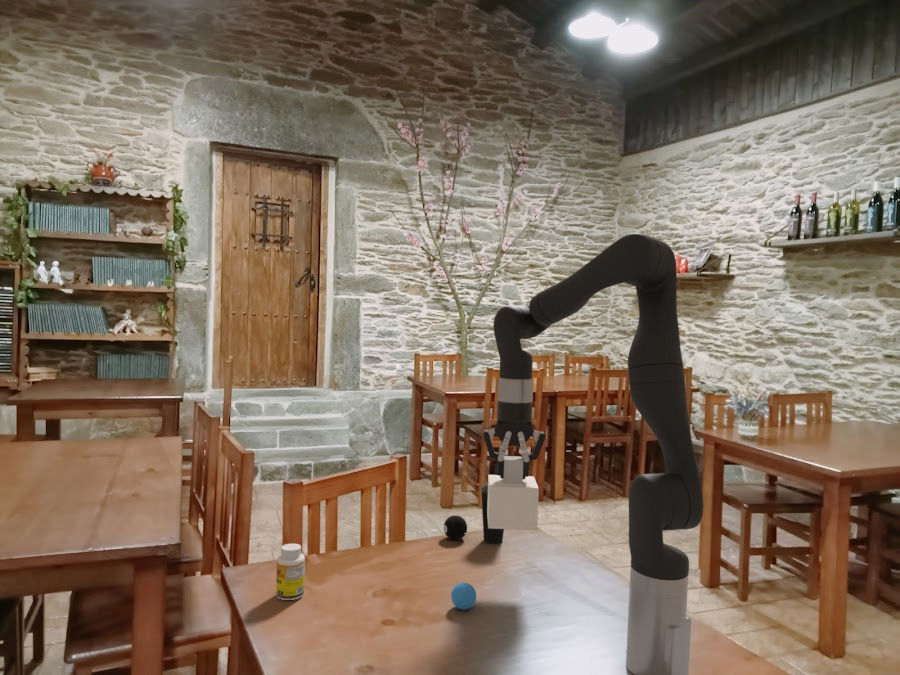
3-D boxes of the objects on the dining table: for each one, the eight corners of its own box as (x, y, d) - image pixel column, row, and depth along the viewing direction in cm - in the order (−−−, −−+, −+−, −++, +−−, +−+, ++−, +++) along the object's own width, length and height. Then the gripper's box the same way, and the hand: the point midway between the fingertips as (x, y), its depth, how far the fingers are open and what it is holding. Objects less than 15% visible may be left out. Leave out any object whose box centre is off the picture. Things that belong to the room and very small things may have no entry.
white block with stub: (532, 515, 142) (534, 454, 142) (537, 530, 132) (539, 464, 132) (487, 513, 143) (488, 452, 142) (488, 528, 132) (490, 462, 132)
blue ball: (481, 609, 126) (482, 584, 126) (463, 616, 123) (463, 591, 123) (463, 600, 130) (464, 576, 130) (445, 607, 127) (446, 582, 126)
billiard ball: (439, 536, 166) (440, 513, 166) (460, 533, 169) (461, 511, 168) (449, 544, 161) (450, 521, 160) (470, 541, 163) (471, 518, 163)
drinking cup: (506, 547, 160) (509, 469, 159) (476, 544, 161) (479, 466, 160) (509, 537, 167) (512, 462, 166) (480, 534, 169) (483, 459, 168)
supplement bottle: (275, 591, 131) (276, 542, 131) (303, 588, 133) (304, 540, 132) (276, 603, 126) (277, 553, 125) (305, 600, 127) (306, 550, 127)
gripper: (546, 398, 140) (543, 475, 141) (481, 396, 141) (479, 472, 141) (550, 402, 133) (547, 483, 133) (482, 400, 133) (479, 481, 134)
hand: (512, 477), depth 137 cm, fingers closed on white block with stub, 4 cm apart
